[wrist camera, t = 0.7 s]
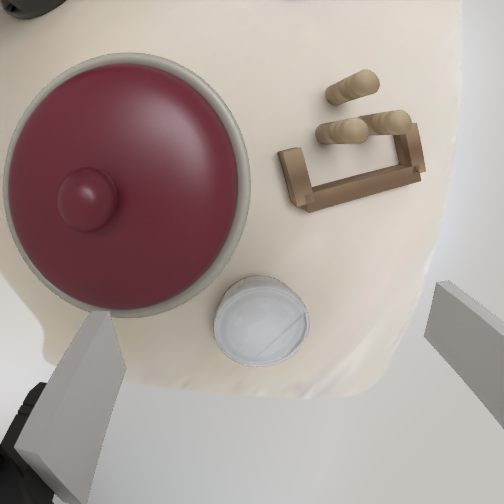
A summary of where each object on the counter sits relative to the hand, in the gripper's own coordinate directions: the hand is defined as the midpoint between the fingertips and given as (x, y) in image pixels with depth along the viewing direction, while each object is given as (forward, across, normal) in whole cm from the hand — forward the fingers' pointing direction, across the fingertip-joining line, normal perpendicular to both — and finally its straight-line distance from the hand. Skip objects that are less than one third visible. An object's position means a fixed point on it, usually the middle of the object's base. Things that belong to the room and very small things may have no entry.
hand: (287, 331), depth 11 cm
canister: (+26, -9, +4) cm, 28 cm away
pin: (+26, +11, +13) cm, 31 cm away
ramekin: (+26, +1, -14) cm, 29 cm away
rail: (+26, +13, +4) cm, 29 cm away
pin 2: (+26, +15, +9) cm, 31 cm away
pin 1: (+26, +10, +8) cm, 29 cm away
